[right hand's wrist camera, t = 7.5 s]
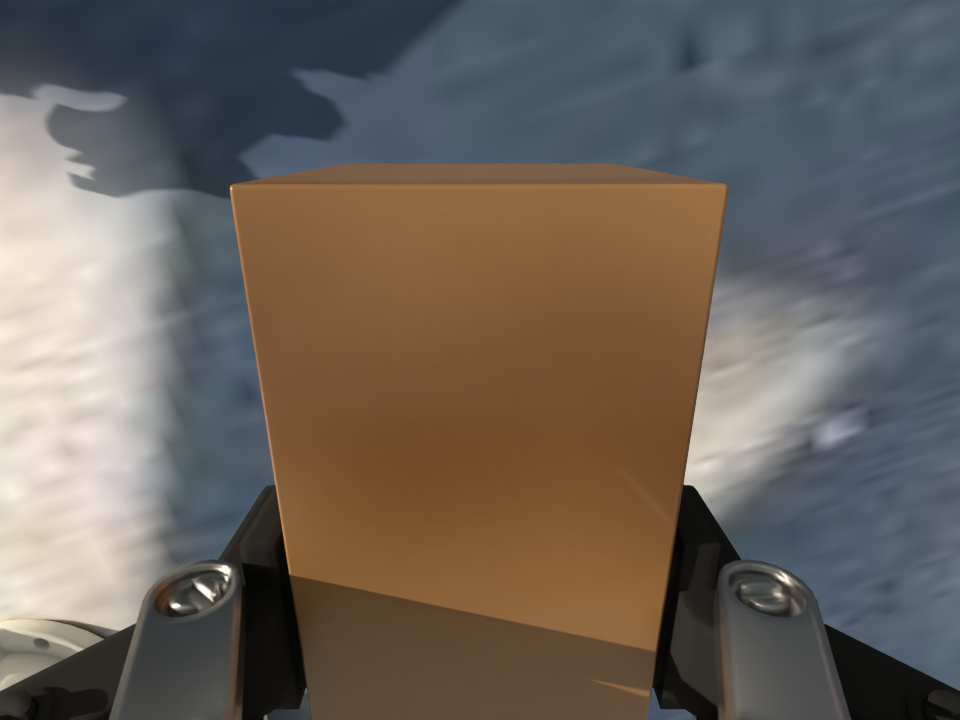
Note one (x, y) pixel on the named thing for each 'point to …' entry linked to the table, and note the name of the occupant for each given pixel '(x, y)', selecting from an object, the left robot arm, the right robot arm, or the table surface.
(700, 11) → the table surface
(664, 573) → the beam
